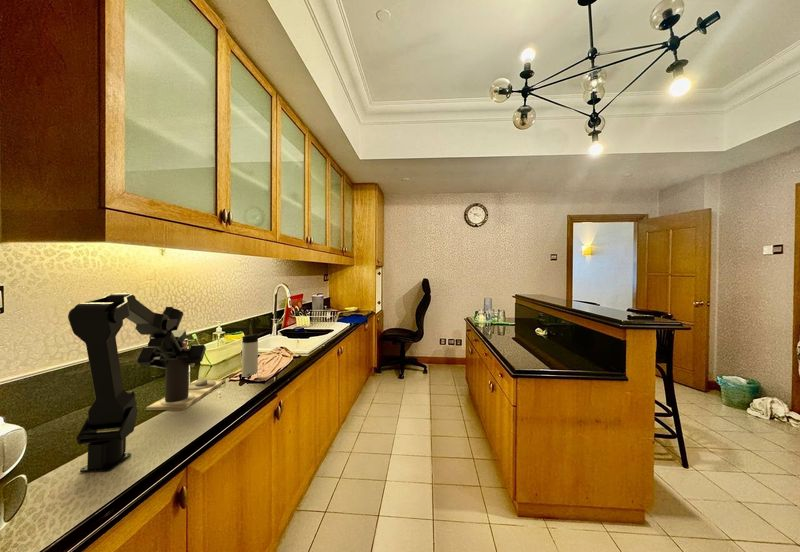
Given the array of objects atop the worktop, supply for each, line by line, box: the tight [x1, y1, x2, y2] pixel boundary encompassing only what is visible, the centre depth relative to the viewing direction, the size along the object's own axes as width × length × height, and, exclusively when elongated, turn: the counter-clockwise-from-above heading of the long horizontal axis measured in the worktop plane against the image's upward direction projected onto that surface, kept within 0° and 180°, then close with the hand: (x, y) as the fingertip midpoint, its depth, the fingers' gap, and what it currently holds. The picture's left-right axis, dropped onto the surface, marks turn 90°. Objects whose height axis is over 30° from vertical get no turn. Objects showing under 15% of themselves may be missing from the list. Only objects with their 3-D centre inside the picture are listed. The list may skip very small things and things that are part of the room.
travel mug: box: [241, 333, 259, 378], centre depth 132 cm, size 6×7×20 cm
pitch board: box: [145, 378, 226, 411], centre depth 114 cm, size 27×12×3 cm, turn 4°
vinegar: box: [164, 341, 190, 402], centre depth 106 cm, size 7×7×20 cm
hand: (180, 366), depth 108 cm, fingers open, 8 cm apart
